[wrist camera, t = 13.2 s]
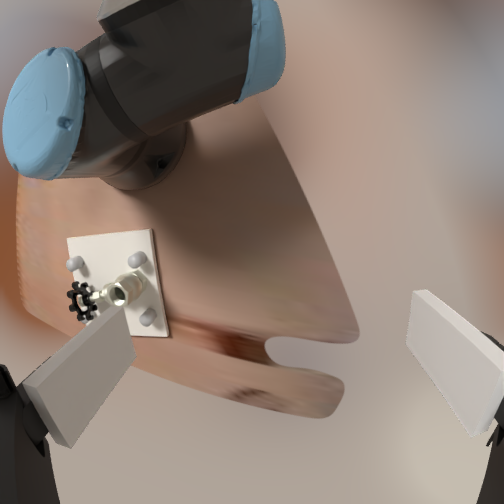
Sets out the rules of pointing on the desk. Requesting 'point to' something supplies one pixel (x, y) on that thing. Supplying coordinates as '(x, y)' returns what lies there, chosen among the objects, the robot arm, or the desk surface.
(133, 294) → the valve
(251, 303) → the desk surface
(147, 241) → the mounting plate
